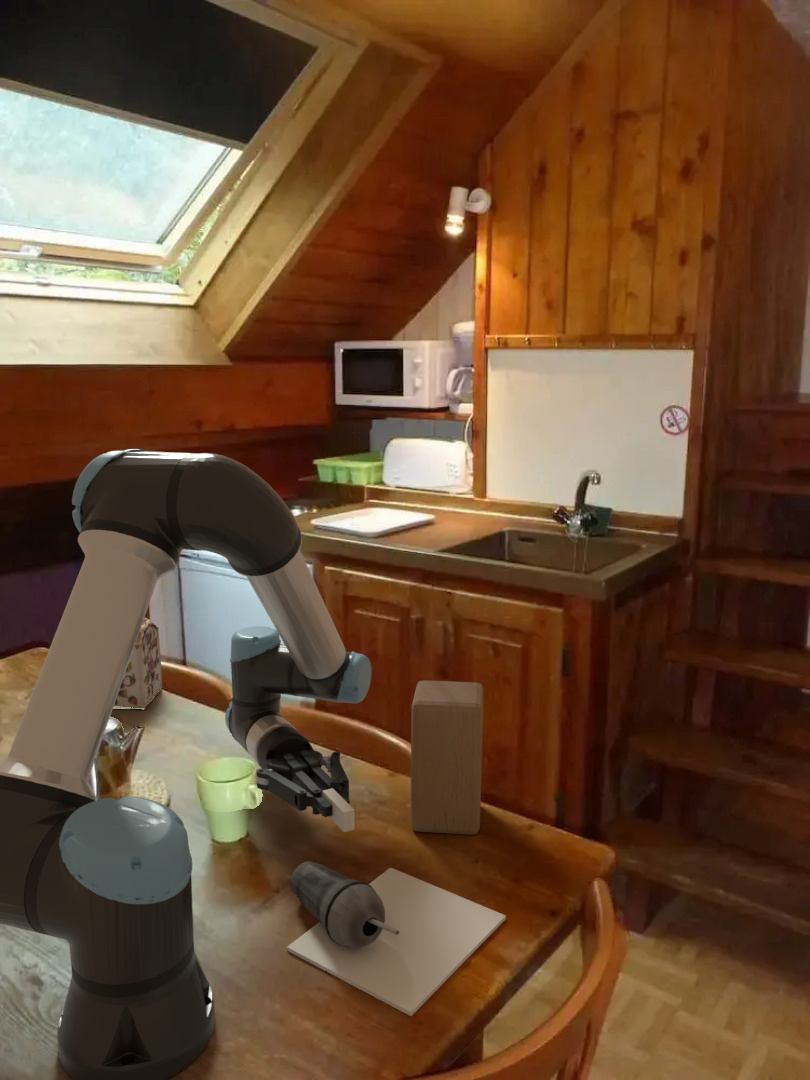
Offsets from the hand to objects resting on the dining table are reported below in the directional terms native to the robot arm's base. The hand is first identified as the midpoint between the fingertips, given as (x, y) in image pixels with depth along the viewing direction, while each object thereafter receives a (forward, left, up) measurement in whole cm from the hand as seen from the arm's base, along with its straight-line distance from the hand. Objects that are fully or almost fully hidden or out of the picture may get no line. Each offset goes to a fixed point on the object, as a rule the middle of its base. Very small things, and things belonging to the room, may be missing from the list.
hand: (349, 820), depth 110 cm
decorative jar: (+24, +77, -10) cm, 81 cm away
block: (+23, 0, -10) cm, 25 cm away
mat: (-3, -10, -10) cm, 15 cm away
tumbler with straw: (-4, +4, -8) cm, 9 cm away
